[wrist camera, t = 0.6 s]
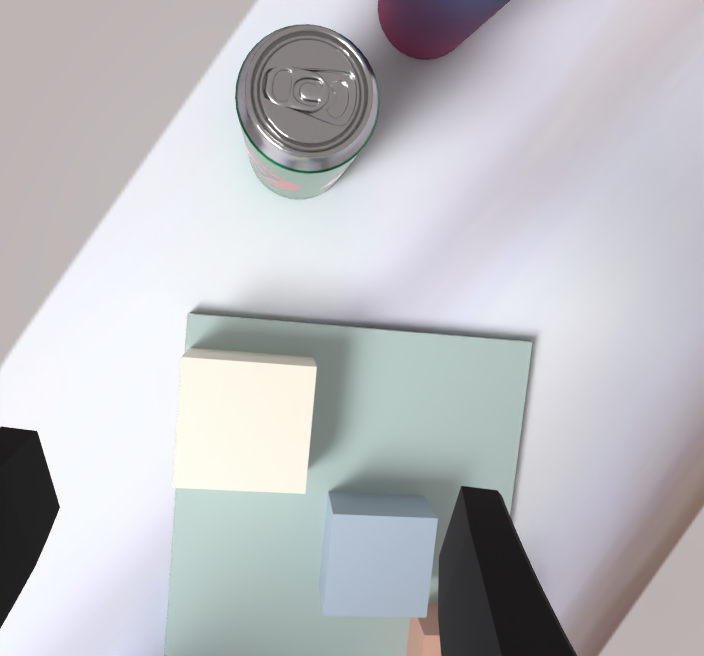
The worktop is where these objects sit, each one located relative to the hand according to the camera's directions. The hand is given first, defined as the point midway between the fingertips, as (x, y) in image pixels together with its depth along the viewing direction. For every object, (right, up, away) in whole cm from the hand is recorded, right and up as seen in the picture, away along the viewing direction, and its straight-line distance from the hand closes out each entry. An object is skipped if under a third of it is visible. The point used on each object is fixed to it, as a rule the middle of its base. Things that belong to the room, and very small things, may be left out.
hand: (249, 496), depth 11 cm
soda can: (-1, +12, +22) cm, 25 cm away
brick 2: (+3, -9, +24) cm, 26 cm away
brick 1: (-4, -2, +22) cm, 23 cm away
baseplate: (+1, -8, +24) cm, 26 cm away
